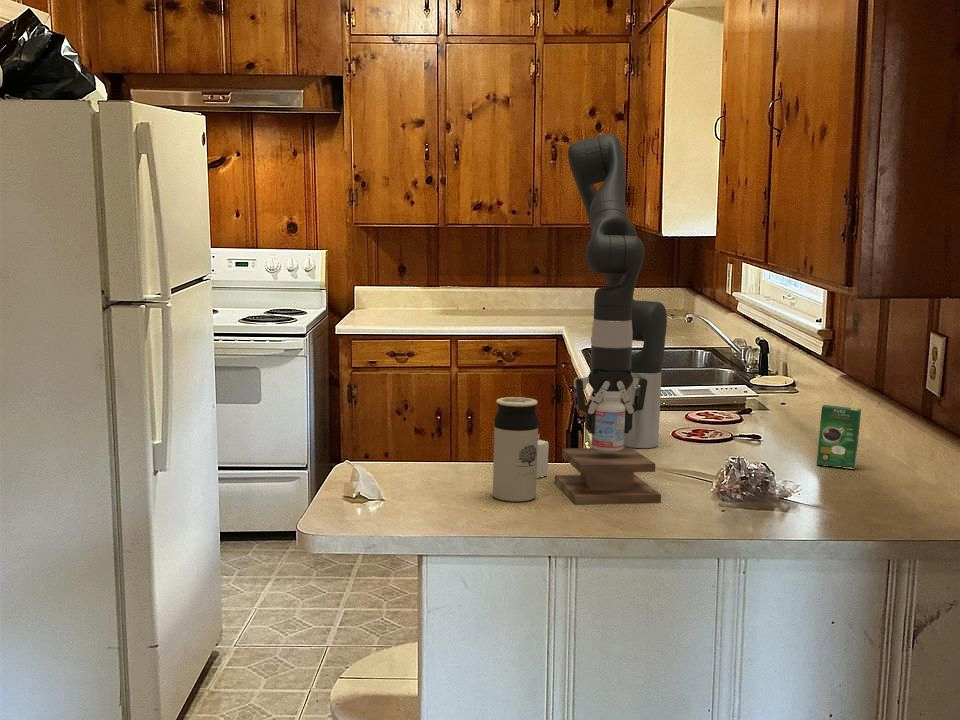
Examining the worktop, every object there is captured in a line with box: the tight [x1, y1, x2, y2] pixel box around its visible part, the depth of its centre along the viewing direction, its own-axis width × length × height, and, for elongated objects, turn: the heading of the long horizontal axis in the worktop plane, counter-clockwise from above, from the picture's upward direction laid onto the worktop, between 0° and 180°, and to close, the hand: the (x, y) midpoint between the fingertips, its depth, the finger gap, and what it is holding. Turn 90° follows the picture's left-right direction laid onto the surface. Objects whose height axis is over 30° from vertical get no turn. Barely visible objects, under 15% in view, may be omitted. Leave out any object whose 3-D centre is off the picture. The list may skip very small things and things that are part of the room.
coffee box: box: [816, 404, 862, 469], centre depth 221 cm, size 8×3×13 cm, turn 63°
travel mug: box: [492, 396, 539, 503], centre depth 189 cm, size 8×8×18 cm
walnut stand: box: [554, 447, 662, 505], centre depth 195 cm, size 16×16×7 cm
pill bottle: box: [590, 391, 626, 452], centre depth 194 cm, size 6×6×11 cm
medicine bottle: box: [537, 418, 549, 479], centre depth 206 cm, size 7×7×12 cm
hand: (608, 432), depth 194 cm, fingers closed on pill bottle, 6 cm apart
